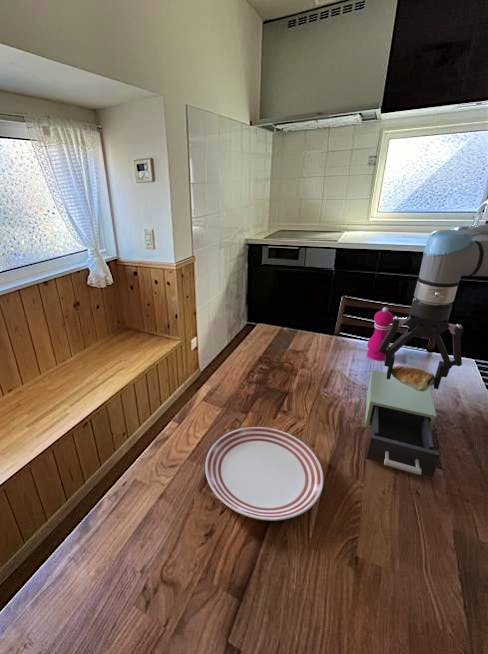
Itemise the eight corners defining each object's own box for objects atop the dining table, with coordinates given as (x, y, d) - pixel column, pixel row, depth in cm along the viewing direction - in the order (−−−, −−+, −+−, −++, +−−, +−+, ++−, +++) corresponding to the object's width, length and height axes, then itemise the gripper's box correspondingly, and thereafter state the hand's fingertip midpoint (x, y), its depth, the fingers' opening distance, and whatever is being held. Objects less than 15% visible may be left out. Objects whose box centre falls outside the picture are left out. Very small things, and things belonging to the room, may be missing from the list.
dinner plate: (182, 472, 84) (182, 462, 82) (254, 420, 99) (254, 411, 98) (273, 559, 64) (274, 548, 63) (344, 477, 80) (346, 467, 78)
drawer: (434, 492, 74) (442, 469, 71) (365, 471, 80) (370, 449, 77) (425, 433, 90) (431, 412, 87) (368, 419, 95) (372, 399, 93)
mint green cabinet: (428, 442, 88) (436, 416, 84) (364, 426, 94) (370, 401, 91) (421, 404, 101) (428, 380, 98) (366, 392, 108) (371, 369, 104)
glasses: (293, 373, 120) (294, 361, 118) (281, 393, 110) (282, 380, 108) (259, 364, 127) (259, 352, 125) (244, 382, 117) (244, 369, 115)
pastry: (384, 377, 88) (387, 365, 87) (397, 368, 92) (400, 356, 90) (423, 394, 81) (427, 381, 80) (436, 384, 85) (439, 371, 83)
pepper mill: (370, 349, 132) (379, 302, 123) (390, 355, 126) (401, 307, 118) (361, 356, 127) (370, 307, 119) (382, 363, 122) (392, 313, 114)
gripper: (377, 299, 79) (362, 378, 88) (500, 313, 69) (468, 401, 78) (378, 289, 85) (363, 364, 94) (491, 300, 75) (462, 383, 84)
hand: (411, 381), depth 86 cm, fingers closed on pastry, 10 cm apart
